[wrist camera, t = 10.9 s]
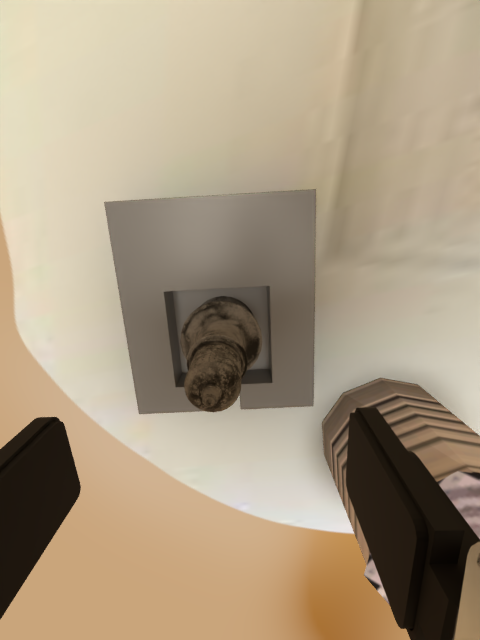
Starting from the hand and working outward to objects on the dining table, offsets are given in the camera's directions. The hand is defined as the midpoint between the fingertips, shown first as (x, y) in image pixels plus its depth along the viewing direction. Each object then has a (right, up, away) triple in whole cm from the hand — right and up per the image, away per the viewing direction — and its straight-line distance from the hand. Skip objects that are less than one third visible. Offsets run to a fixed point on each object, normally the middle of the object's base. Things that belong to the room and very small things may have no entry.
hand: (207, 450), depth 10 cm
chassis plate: (-1, +6, +15) cm, 16 cm away
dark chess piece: (0, +4, +15) cm, 16 cm away
